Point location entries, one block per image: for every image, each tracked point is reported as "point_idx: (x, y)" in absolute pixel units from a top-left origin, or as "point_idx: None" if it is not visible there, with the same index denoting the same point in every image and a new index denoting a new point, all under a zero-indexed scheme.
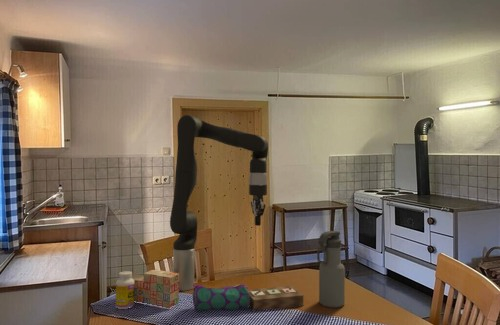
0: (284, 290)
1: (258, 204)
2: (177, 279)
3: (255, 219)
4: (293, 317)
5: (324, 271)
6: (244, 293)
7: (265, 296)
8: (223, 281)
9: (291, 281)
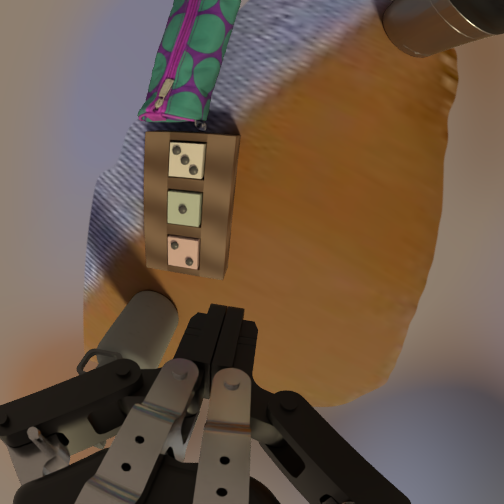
0: (183, 241)
1: (62, 469)
2: None
3: (205, 339)
4: (105, 202)
5: (108, 337)
6: (143, 105)
7: (161, 173)
8: (425, 155)
9: (328, 322)
